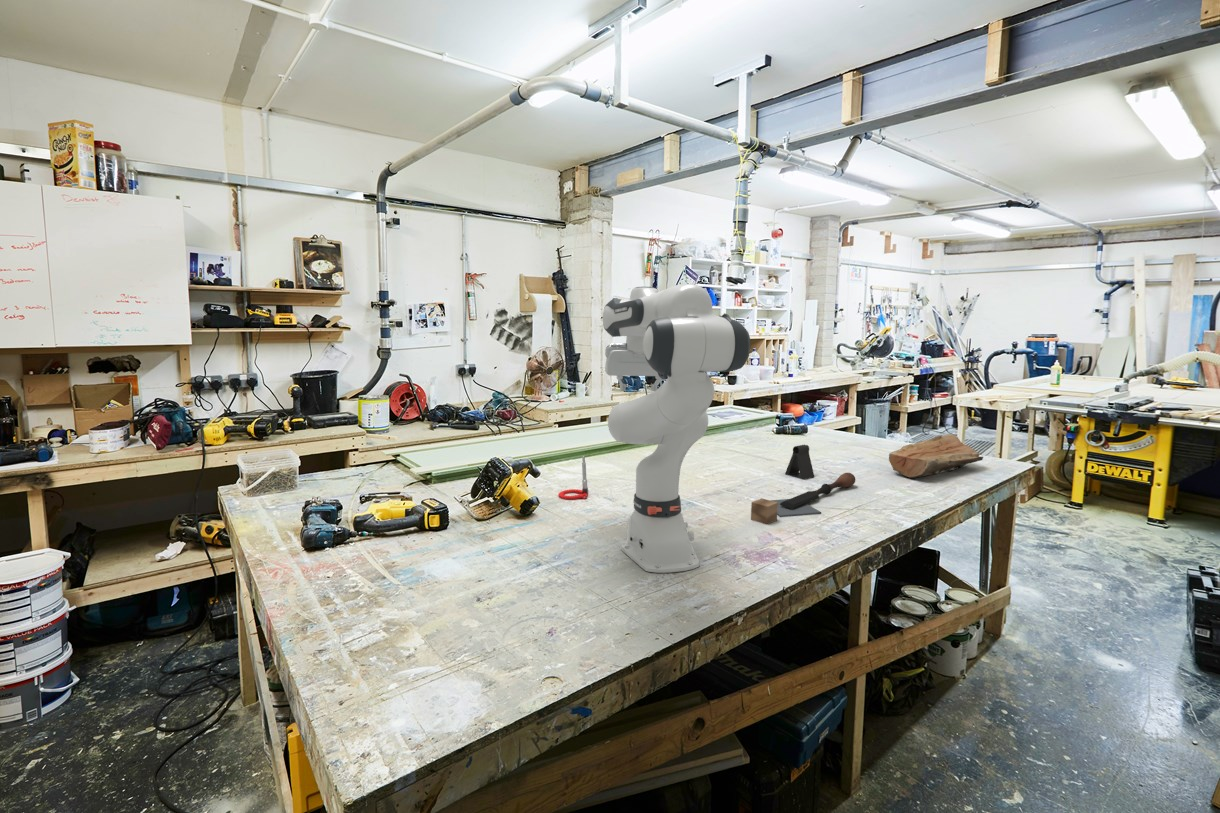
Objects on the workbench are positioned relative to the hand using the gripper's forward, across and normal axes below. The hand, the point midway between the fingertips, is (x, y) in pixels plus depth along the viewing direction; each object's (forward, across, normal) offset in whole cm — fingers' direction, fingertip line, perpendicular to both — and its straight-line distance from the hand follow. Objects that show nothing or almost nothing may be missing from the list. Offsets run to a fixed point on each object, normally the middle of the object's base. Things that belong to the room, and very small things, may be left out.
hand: (638, 390), depth 167 cm
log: (+39, +130, +26) cm, 138 cm away
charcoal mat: (+37, +50, -5) cm, 63 cm away
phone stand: (+40, +73, +29) cm, 88 cm away
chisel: (+37, +67, +4) cm, 77 cm away
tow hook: (+41, -16, +18) cm, 48 cm away
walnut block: (+36, +38, -14) cm, 54 cm away
